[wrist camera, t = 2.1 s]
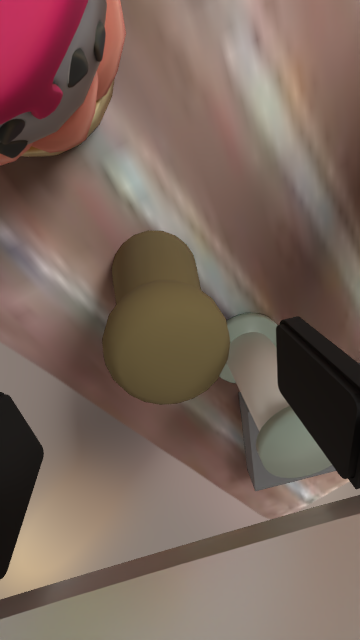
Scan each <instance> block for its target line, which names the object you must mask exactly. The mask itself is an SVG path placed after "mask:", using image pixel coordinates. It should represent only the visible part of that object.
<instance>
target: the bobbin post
mask: <svg viewBox="0 0 360 640" xmlns="http://www.w3.org/2000/svg"><path fill="white" fill-rule="evenodd" d="M226 322H227V327H228V331H229V336H230V349H229V355H228V360H227V362H226V364H225V366H224V368H223V370H222V372H221V374H220V377H221V378H222V379H224V380H226V381H228V382H231V383H236V384H237V386H238V388H239V390H240V392H241V394H242V396H243V398H244V400H245V402H246V405H247V407H248V409H249V411H250V413H251V415H252V417H253V419H254V421H255V423H256V426H257V428H258V430H259V433H258V436H257V440H256V449H257V452H258V454H259V457H260V459H261V461H262V463H263V466H264V467H265V469H266V470H267V471H268V472H269V473H271V474H273V475H275V476H278V477H283V478H299V477H304V476H308V475H312V474H315V473H317V472H320V471H322V470H324V469H326V468H327V467H329V466H331V465H332V464H331V463H330V461H329V460H328V458H327V457H326V456H325V454H324V453H323V451H322V450H321V449H320V447H319V446H318V444H317V443H316V442H315V440H314V439H313V438H312V436H311V435H310V433H309V432H308V431H307V429H306V428H305V426H304V425H303V424H302V422H301V421H300V419H299V418H298V417H297V415H296V414H295V412H294V411H293V410H292V408H291V407H290V405H289V404H288V403H287V401H286V400H285V399H284V397H283V396H282V394H281V393H280V391H279V388H278V382H277V349H276V327H277V326H278V325H277V324H276V323H275V322H274V321H273V320H272V319H270V318H269V317H267V316H265V315H262V314H258V313H245V314H240V315H237V316H235V317H232V318H230V319H229V320H227V321H226Z"/></svg>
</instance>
